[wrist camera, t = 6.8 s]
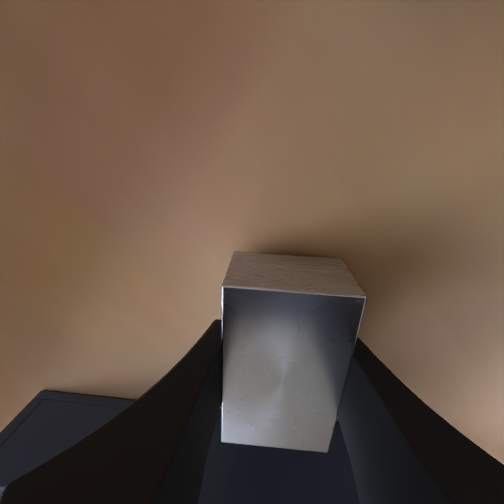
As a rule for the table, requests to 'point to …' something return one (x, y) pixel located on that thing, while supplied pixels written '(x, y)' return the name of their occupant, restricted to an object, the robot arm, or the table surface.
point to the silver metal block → (286, 348)
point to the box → (217, 463)
